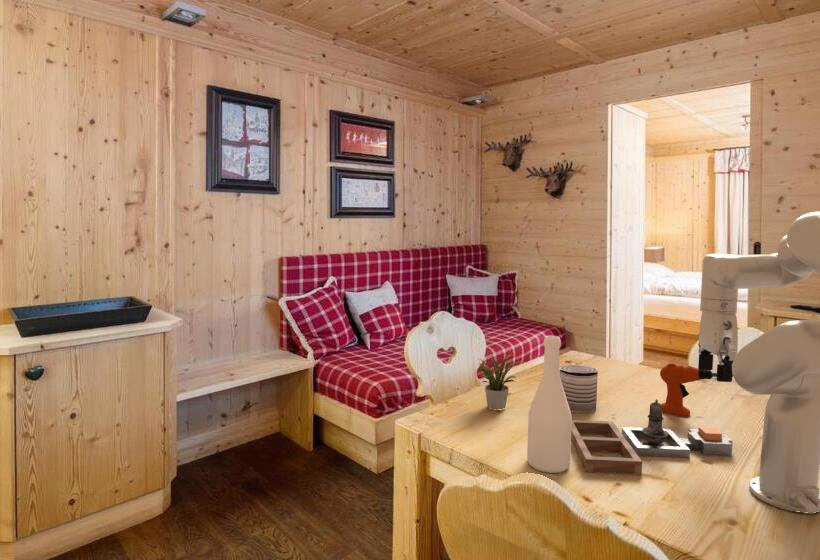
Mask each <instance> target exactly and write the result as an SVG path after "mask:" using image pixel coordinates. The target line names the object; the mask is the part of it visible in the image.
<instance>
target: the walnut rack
mask: <svg viewBox="0 0 820 560" xmlns="http://www.w3.org/2000/svg"><path fill="white" fill-rule="evenodd" d="M581 434H584V435H585V434H586V435H587V434H588V435H608V436H609V437H598V436H597V437H595V436H581ZM571 445H572V446H573V449H574V448H575V449H574V450H575V453H576V454H577V457H578V458H579V461H580V462H581V465H582V467H583V470H584V471H585V473H600V474H601V473H602V474H619V475H620V474H621V475H622V474H624V475H642V473H643V460H642V459H641V458H640V456H638V455H637V454H636V452H635V451H634V450H633V448H632V447H631V445H630V444H629V443H628V441H627V440H626V439H625V437H624V436H623V435H622V431H621V430H620V428H618V426H617V425H616V424H615V423H614V421H611V420H610V421H609V420H608V421H607V420H583V419H581V420H579V419H572V425H571ZM591 452H593V453H594V452H596V453H597V452H598V453H617V454H618V453H619V454H621V457H614V456H613V457H612V456H592V455H591Z"/></svg>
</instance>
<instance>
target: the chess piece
mask: <svg viewBox="0 0 820 560" xmlns="http://www.w3.org/2000/svg"><path fill="white" fill-rule="evenodd" d="M658 401H659V400H658V399H657V398H656V399H655V401H653V402H651V403H650V404H649V413H648V415H647V418H648V424H647V426H645V427H642V428H643V429H642V432H643V435H644V438H643V439H644V441H643V442H642V443H641V445H649V446H666V445H665V444H663V443H664V442H665V441H667V439H666V437H667V436H668V433H667V432H666V431H664V430H663V429H664V428H663V420H664V419H665V418H664V417H663V406H662V405H661V404H662V403H659V402H658Z"/></svg>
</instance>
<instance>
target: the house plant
mask: <svg viewBox="0 0 820 560" xmlns="http://www.w3.org/2000/svg"><path fill="white" fill-rule="evenodd" d="M487 356H488V357H489V358H490V359H491V362H492V366H493V371H494V374H493V372H492V370H491V368H490V366H489V365H488V364H487V363H486V362H485V361H484V360H483V359H481V358H477V359H478V360H480V361H481V362H482V363H480V362H479V363H478V364H479V366H480V370H481V371H482V372H480V373H479V374H478V376H479V377H481V378H482V377H483V378H484V379H487V380H488V381H487V380H482V383H487V384H486V385H485V386H484V391H485V397H486V398H485V399H486V403H487V404H486V405H487V408H488V407H490V408H492V409H503V408H505V409H506V407H507V400H508V395H509V391H510V387H509V386H508V385H505V384H506V383H511V382H515V383H516V381H515V380H514V379H513V378H515V379H517V376H515V375H510V376H509V377H507V378H506V379H505V377H506V375H507V374H508V372H509V371H510V370H511V369H512V368H514V366H515V365H517V364H519V363H523V362H526V361H525V360H520V361H516V362H514V360H508V359H509V357H510V356H511V354H508V355H506V356H505V357H504V358H503V360H502V361H501V364H500V367H499V360H498V357H497V355H494V357H495V358H494V357H493V356H492V355H490V354H488V355H487ZM507 362H508V364H507V365H506V363H507ZM505 365H506V366H505ZM504 368H505V369H504Z"/></svg>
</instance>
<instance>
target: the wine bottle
mask: <svg viewBox="0 0 820 560" xmlns="http://www.w3.org/2000/svg"><path fill="white" fill-rule="evenodd" d="M561 340H562V339H561V338H560V336H558V335H546V336H545V337H544V339H543V347H544V354H543V355H544V356H543V369H542V370H543V372H542V375H541V379H540V382H539V384H538V386H537V389H536V392H535V395H534V396H533V399H532V402H531V404H530V407H529V411H528V416H527V418H528V419H527V420H528V421H527V448H526V449H527V453H526V454H527V457H526V459H527V462H528V464H529V465H530V466H531V467H532V468H533V469H535V470H537V471H539V472H543V473H547V474H557V473H562V472H565V471H567V470H568V469H569V467H570V464H571V447H572V442H571V425H572V420H573V417H572V416H573V415H572V412H571V411H570V408H569V405H568V402H567V399H566V395H565V392H564V389H563V385H562V382H561V379H560V374H559V373H560V369H559V367H560V348H561V346H562V345H561V344H562V341H561Z"/></svg>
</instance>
